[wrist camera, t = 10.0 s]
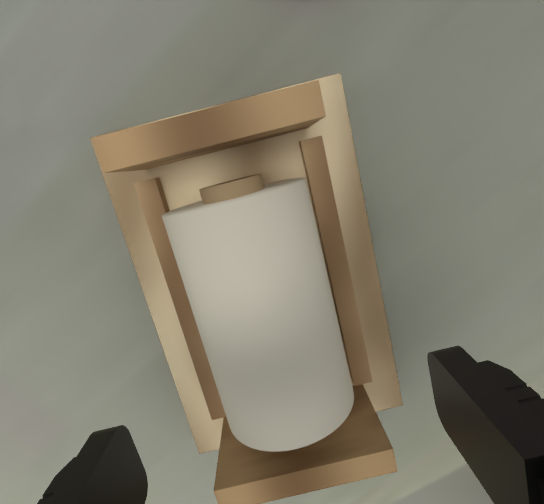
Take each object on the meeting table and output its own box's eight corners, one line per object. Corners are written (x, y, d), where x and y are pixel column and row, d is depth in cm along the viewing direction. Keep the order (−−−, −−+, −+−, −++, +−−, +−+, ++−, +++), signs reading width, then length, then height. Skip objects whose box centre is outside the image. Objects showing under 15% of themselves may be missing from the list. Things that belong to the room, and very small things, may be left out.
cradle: (336, 77, 18) (372, 39, 13) (396, 394, 23) (444, 475, 17) (98, 138, 19) (26, 129, 13) (201, 441, 23) (183, 536, 17)
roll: (174, 193, 19) (136, 208, 13) (294, 162, 18) (311, 163, 13) (235, 390, 21) (227, 478, 15) (341, 365, 21) (373, 443, 15)
